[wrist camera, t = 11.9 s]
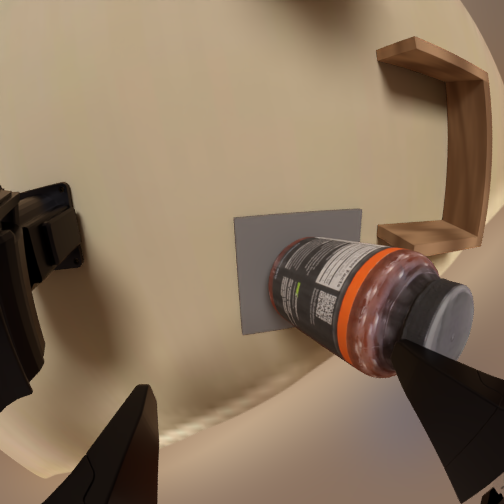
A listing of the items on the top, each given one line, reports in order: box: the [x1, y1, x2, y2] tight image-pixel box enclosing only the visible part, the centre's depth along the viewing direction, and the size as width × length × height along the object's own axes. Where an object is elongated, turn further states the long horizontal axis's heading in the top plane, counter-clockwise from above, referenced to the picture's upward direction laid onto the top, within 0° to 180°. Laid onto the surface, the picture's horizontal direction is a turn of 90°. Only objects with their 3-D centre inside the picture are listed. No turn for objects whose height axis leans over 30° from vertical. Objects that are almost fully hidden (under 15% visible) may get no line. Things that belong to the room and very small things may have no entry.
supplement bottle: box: [268, 237, 474, 378], centre depth 15 cm, size 7×7×13 cm
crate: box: [376, 36, 492, 256], centre depth 18 cm, size 10×16×5 cm, turn 3°
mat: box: [234, 209, 362, 335], centre depth 22 cm, size 10×10×1 cm
